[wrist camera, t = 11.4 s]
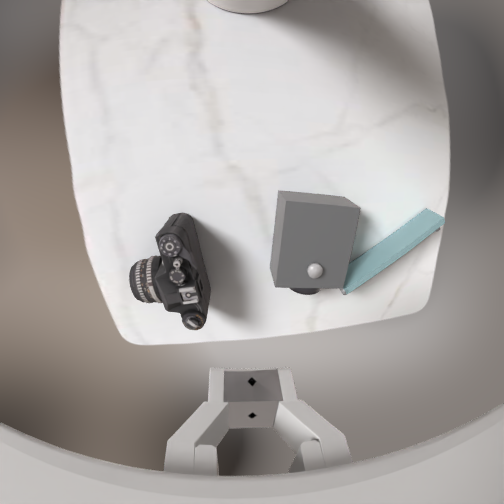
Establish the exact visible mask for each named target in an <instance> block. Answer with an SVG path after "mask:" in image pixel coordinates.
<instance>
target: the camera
mask: <svg viewBox="0 0 504 504" xmlns="http://www.w3.org/2000/svg"><path fill="white" fill-rule="evenodd" d="M155 238H156V241H157V245H158V248H159V252H160V255H161V256H151V257H150V258H148V259H142V260H140V261H138V262H136V263H135V264H134V265H133V266H132V267H131V270H130V275H129V280H130V287H131V290H132V293H133V295H134V296H135V298H136V299H137V300H140V301H142V302H146V303H153V302H158V303H163V304H164V307H165V309H166V310H167V311H168V312H178V313H180V314H181V317H182V322H183V324H184V326H185V327H186V328H188V329H190V330H198V329H201V328H202V327H203V326H204V324H205V322H206V319H207V313H208V306H209V299H210V284H209V281H208V278H207V274H206V270H205V265H204V262H203V258H202V254H201V250H200V245H199V241H198V237H197V233H196V231H195V227H194V223H193V220H192V218H191V216H189V215H188V214H186V213H178V214H173V215H172V216H171V217H169V220H168V221H167V222H166V223H165V225H164V226H163V228H162V229H161V230H160V231H159V232H158V233H157V235H156V237H155Z"/></svg>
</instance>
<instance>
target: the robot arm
mask: <svg viewBox="0 0 504 504" xmlns="http://www.w3.org/2000/svg"><path fill="white" fill-rule="evenodd" d="M207 1H208V2H210V3H211V4H213V5H215V6H217V7H219V8H221V9H224V10H227V11H231V12H237V13H259V12H265V11H269V10H272V9H275V8H277V7H279V6H281V5H283V4H284V3H286V2H287V1H288V0H207ZM267 427H273V429H274V430H275V431H276V432H277V434H278V435H279V436H280V437H281V438H282V439H283V440H284V442H285V443H286V444H287V445H288V446H289V447H290V448H291V450H292V451H293V452H294V453H295V454H296V456H295V458H294V460H293V462H292V464H291V466H290V468H289V473H285V474H274V475H257V476H219V471H218V460H217V450H216V447H217V445H218V444H219V442H220V441H221V440H222V438H223V437H224V435H225V434H226V433H227V431H228V430H229V428H267ZM0 504H504V403H503V404H501V405H499V406H497V407H496V408H494V409H492V410H490V411H489V412H487V413H485V414H483V415H481V416H479V417H478V418H476V419H474V420H472V421H470V422H468V423H466V424H464V425H461V426H459V427H457V428H455V429H453V430H451V431H448V432H446V433H444V434H441V435H439V436H437V437H434V438H432V439H429V440H427V441H424V442H421V443H419V444H416V445H413V446H410V447H407V448H404V449H401V450H398V451H395V452H392V453H388V454H385V455H382V456H378V457H374V458H370V459H367V460H362V461H358V462H354V463H353V461H352V458H351V454H350V451H349V448H348V445H347V442H346V439H345V435H344V434H343V433H341V432H340V431H339V430H338V429H336V428H335V427H334V426H333V425H331V424H330V423H329V422H328V421H327V420H325V419H324V418H323V417H322V416H321V415H319V414H318V413H317V412H316V411H315V410H313V409H312V408H311V407H310V406H309V405H307V404H306V403H305V402H304V401H303V400H298V396H297V392H296V387H295V383H294V379H293V375H292V371H291V368H290V367H288V368H259V369H231V368H229V369H228V368H210V377H209V395H208V402H204V403H203V404H202V405H201V406H200V407H199V408H198V409H197V410H196V411H195V413H194V414H193V415H192V416H191V417H190V418H189V419H188V420H187V421H186V422H185V423H184V424H183V425H182V426H181V427H180V428H179V430H178V431H177V432H176V433H175V434H174V435H173V436H172V437H171V438H170V439H169V440H168V441H167V449H166V457H165V465H164V472H162V471H154V470H148V469H142V468H136V467H131V466H126V465H120V464H116V463H112V462H108V461H103V460H99V459H96V458H92V457H88V456H85V455H81V454H78V453H75V452H71V451H69V450H66V449H63V448H60V447H57V446H54V445H51V444H48V443H46V442H43V441H41V440H38V439H36V438H33V437H31V436H29V435H26V434H24V433H22V432H20V431H18V430H15V429H13V428H11V427H9V426H7V425H5V424H3V423H1V422H0Z"/></svg>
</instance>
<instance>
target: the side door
mask: <svg viewBox="0 0 504 504" xmlns="http://www.w3.org/2000/svg"><path fill="white" fill-rule="evenodd" d="M444 223H445V220H444V217H442V216H440V215H438V214H436V213H435V212H433V211H431V210H429V209H427V208H426V209H425V210H424V211H422V212H421V213H420V214H418V215H417V216H416V217H414V218H413V219H412V220H410V221H409V222H408V223H406V224H405V225H404V226H402V227H401V228H400V229H398V230H397V231H395V232H394V233H393V234H391V235H390V236H389V237H387V238H386V239H384V240H383V241H381V242H380V243H379V244H377V245H376V246H374V247H373V248H372V249H370V250H369V251H367V252H366V253H364V254H363V255H361V256H360V257H359V258H357V259H356V260H354V261H353V262H351V263H350V264H349V265H348V270H347V274H346V278H345V282H344V286H343V288H339V289H340V290H341V292H342V294H343V295H347V294H348V293H350V292H351V291H353V290H354V289H356V288H357V287H359V286H360V285H362V284H363V283H365V282H366V281H367V280H369V279H370V278H372V277H373V276H375V275H376V274H378V273H379V272H380V271H382V270H383V269H385V268H386V267H388V266H389V265H390V264H392V263H393V262H395V261H396V260H397V259H399V258H400V257H401V256H403V255H404V254H405V253H407V252H408V251H409V250H411V249H412V248H413V247H415V246H416V245H417V244H419V243H420V242H421V241H423V240H424V239H425V238H427V237H428V236H429V235H430V234H432V233H433V232H434V231H436V232H437V231H438V230H440V226H442V225H443V224H444Z"/></svg>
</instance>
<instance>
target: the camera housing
mask: <svg viewBox="0 0 504 504" xmlns="http://www.w3.org/2000/svg"><path fill="white" fill-rule="evenodd" d="M359 213H360V207H358V206H357V205H355V204H354V203H352V202H351V201H350V200H348V199H347V198H345V197H340V196H331V195H322V194H312V193H301V192H290V191H278V199H277V209H276V218H275V227H274V236H273V245H272V254H271V262H270V270H271V273H272V277H273V281H274V285H275V287H281V288H290V289H291V290H293V291H294V292H297V293H300V294H305V295H311V294H315V293H317V292H319V291H320V288H343V286H344V282H345V278H346V274H347V270H348V265H349V261H350V257H351V252H352V248H353V243H354V239H355V234H356V229H357V224H358V219H359Z"/></svg>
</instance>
